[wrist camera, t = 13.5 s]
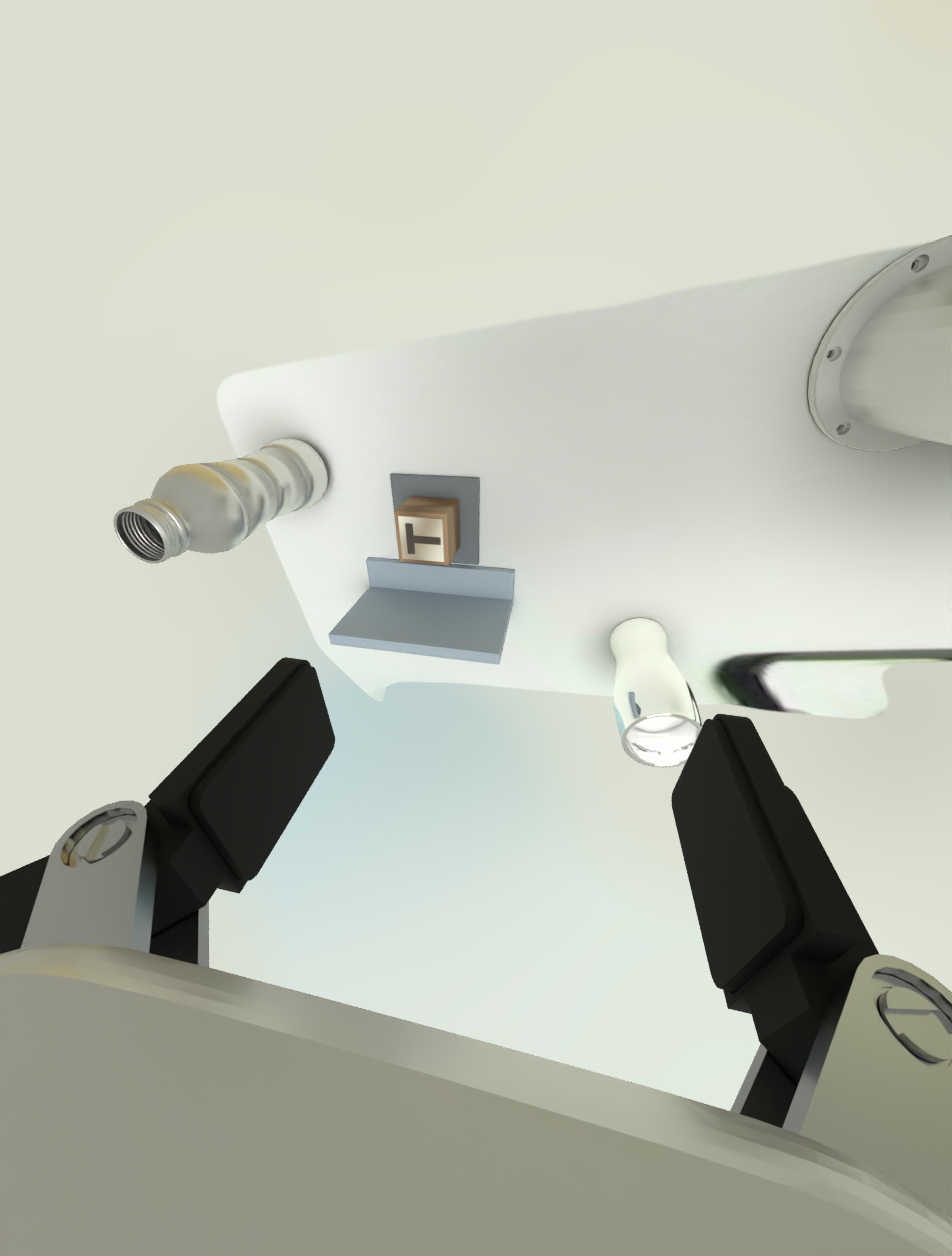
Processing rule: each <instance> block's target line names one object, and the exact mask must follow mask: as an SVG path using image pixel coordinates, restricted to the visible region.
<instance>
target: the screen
mask: <svg viewBox="0 0 952 1256" xmlns="http://www.w3.org/2000/svg"><path fill="white" fill-rule="evenodd" d="M366 563H367V569H368V575H369V581H370V588H369V589H368V590H367V591H366V592H365V593H364V594H363V595H362V597H361V598H360V599H359V600H358V601H357V602H356V603H355V605H354V606H353V607H352V608H351V609H350V610H349V611H348V613H347V614H346V615H345V616H344V617H343V618H342V619H341V621H340V622H339V623H338V624H337V625H336V626H335V627H334V629H333V630H332V631H331V632H330V633H329V638H330V642H331V644H335V645H343V646H351V647H359V648H367V649H376V650H384V651H392V652H400V653H409V654H417V655H425V656H433V657H441V658H450V659H458V660H466V661H474V662H483V663H491V664H499V663H500V658H501V654H502V650H503V645H504V641H505V637H506V632H507V628H508V623H509V619H510V615H511V610H512V606H513V589H514V573H515V570H513V569H501V568H490V567H478V566H466V565H454V564H449V565H437V564H426V563H415V562H403V561H400V560H394V559H382V558H370V557H369V558H368V559H367V560H366Z"/></svg>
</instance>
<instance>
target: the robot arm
mask: <svg viewBox="0 0 952 1256" xmlns="http://www.w3.org/2000/svg"><path fill="white" fill-rule="evenodd" d="M913 262H914V263H915V264H914V267H913V269H911V266H912V263H913ZM830 350H831V351H832V353H831V355H830V357H828V358H827V354H828V352H829V351H830ZM808 399H809V405H810V411H811V413H812V416H813V418H814V420H815V423H816V424H817V426H818V427H819V428H820V429H821V430H822V432H823V433H824V434H825V435H826V436H828V437H829V438H831V439H832V440H834V441H835V442H837V443H839V444H842V445H845V446H847V447H851V448H855V449H859V450H863V451H886V450H894V449H901V448H904V447H908V446H911V445H915V444H918V443H921V442H924V441H926V440H929V441H934V442H938V443H943V444H947V445H952V235H951V236H948V237H944V238H941V239H938V240H936V241H934V242H931V243H929V244H927V245H924V246H922V247H919V248H917V249H915V250H913V251H912V252H910V253H908V254H906V255H905V256H903V257H901V258H900V259H898V260H896V261H895V262H893V263H891V264H890V265H889V266H888V267H886V268H885V269H884V270H882V271H881V272H880V273H878V274H877V275H876V276H875V277H873V278H872V279H871V280H870V281H869V282H868V283H867V284H866V285H865V286H863V287H862V288H861V289H860V290H859V291H858V292H857V293H856V294H855V295H854V296H853V297H852V298H851V299H850V301H849V302H848V303H847V304H846V306H845V307H844V308H843V309H842V311H841V312H840V313H839V314H838V316H837V317H836V318H835V320H834V321H833V323H832V325H831V326H830V328H829V329H828V331H827V333H826V334H825V336H824V338H823V339H822V342H821V344H820V346H819V349H818V351H817V353H816V355H815V358H814V361H813V365H812V369H811V372H810V376H809V387H808ZM839 425H841V427H840V428H839V429H838V430H837V428H838V427H839ZM334 744H335V736H334V733H333V729H332V726H331V722H330V719H329V715H328V711H327V708H326V705H325V701H324V697H323V694H322V690H321V687H320V684H319V680H318V677H317V673H316V670H315V668H314V667H311V665H310V663H309V662H308V661H307V660H301V659H293V658H286V657H285V658H282V659H281V660H280V661H278V662H277V663H276V664H275V665H274V666H273V668H272V669H271V670H270V671H269V672H268V673H267V674H266V675H265V676H264V677H263V678H262V679H261V680H260V681H259V682H258V683H257V684H256V685H255V686H254V687H253V688H252V689H251V690H250V691H249V692H248V694H246V695H245V696H244V698H243V699H242V700H241V701H240V702H239V703H238V704H237V705H236V706H235V707H234V708H233V709H232V710H231V711H230V712H229V713H228V714H227V715H226V716H225V717H224V718H223V719H222V720H221V722H219V723H218V725H217V726H216V727H215V728H214V729H213V730H212V731H211V732H210V733H209V734H208V735H207V736H206V737H205V738H204V739H203V740H202V741H201V742H200V743H199V744H198V745H197V746H196V747H195V748H194V749H193V751H191V752H190V754H189V755H188V756H187V757H186V758H185V759H184V760H183V761H182V762H181V763H180V764H179V765H178V766H177V767H176V768H175V769H174V770H173V771H172V772H171V773H170V775H168V776H167V777H166V778H165V779H164V780H163V782H161V783H160V785H159V786H158V787H157V788H156V789H155V790H154V791H153V792H152V793H151V794H150V795H149V798H150V799H151V800H150V801H149V802H148V803H147V804H146V805H145V806H143V805H142V804H141V803H138V802H135V801H119V802H115V803H112V804H108V805H105V806H103V807H101V808H99V809H97V810H94V811H93V812H91V813H89V814H88V815H86V816H85V817H83V818H81V819H80V820H79V821H77V822H76V823H75V824H74V825H73V826H71V827H70V828H69V829H68V830H67V831H66V832H65V833H64V834H63V836H62V837H61V838H60V839H59V840H58V842H57V843H56V844H55V846H54V848H53V850H52V852H51V854H50V855H49V856H46V857H44V858H42V859H39V860H37V861H35V862H32V863H30V864H28V865H26V866H23V867H21V868H19V869H17V870H14V871H12V872H10V873H7V874H5V875H3V876H0V1256H952V992H951V991H949V990H948V989H947V988H946V987H945V986H944V985H942V984H941V983H940V982H939V981H938V980H936V979H935V978H934V977H933V976H931V975H929V974H928V973H926V972H924V971H923V970H921V969H920V968H918V967H917V966H915V965H913V964H912V963H909V962H906V961H904V960H901V959H899V958H896V957H894V956H888V955H880V954H879V953H878V951H877V949H876V947H875V945H874V943H873V941H872V939H871V937H870V936H869V934H868V932H867V930H866V928H865V926H864V924H863V922H862V920H861V918H860V916H859V914H858V913H857V911H856V909H855V907H854V905H853V903H852V901H851V899H850V897H849V896H848V894H847V892H846V890H845V888H844V886H843V884H842V882H841V880H840V878H839V876H838V874H837V873H836V871H835V869H834V867H833V865H832V863H831V861H830V860H829V857H828V855H827V854H826V852H825V850H824V848H823V846H822V844H821V842H820V840H819V838H818V836H817V834H816V833H815V831H814V829H813V827H812V825H811V823H810V821H809V819H808V817H807V815H806V814H805V812H804V810H803V808H802V806H801V804H800V802H799V800H798V798H797V797H796V796H795V794H794V793H793V791H792V790H790V789H789V788H788V787H787V786H785V785H784V783H783V781H782V780H781V777H780V775H779V773H778V772H777V769H776V768H775V766H774V764H773V762H772V760H771V758H770V756H769V754H768V752H767V750H766V748H765V746H764V744H763V742H762V740H761V738H760V736H759V734H758V732H757V730H756V729H755V726H754V724H753V723H752V721H751V720H750V719H749V718H747V717H740V716H733V715H725V714H717V715H716V716H715V717H714V718H713V720H711V719H707V720H706V721H705V722H704V724H703V726H702V729H701V731H700V733H699V735H698V737H697V740H696V742H695V744H694V746H693V748H692V751H691V753H690V755H689V757H688V759H687V761H686V764H685V766H684V768H683V770H682V773H681V775H680V777H679V779H678V781H677V783H676V786H675V788H674V790H673V793H672V809H673V813H674V817H675V822H676V826H677V830H678V835H679V839H680V843H681V848H682V852H683V856H684V861H685V865H686V869H687V873H688V878H689V882H690V886H691V890H692V895H693V899H694V903H695V908H696V912H697V916H698V921H699V925H700V929H701V933H702V938H703V942H704V946H705V951H706V955H707V959H708V963H709V968H710V972H711V975H712V978H713V981H714V983H715V985H716V986H717V987H718V988H720V989H723V990H724V994H725V998H726V1002H727V1007H728V1009H733V1010H737V1011H742V1012H745V1013H749V1014H752V1017H753V1021H754V1024H755V1028H756V1031H757V1034H758V1038H759V1041H760V1043H761V1045H760V1046H759V1049H758V1051H757V1053H756V1056H755V1058H754V1060H753V1062H752V1064H751V1066H750V1069H749V1071H748V1073H747V1075H746V1078H745V1080H744V1082H743V1084H742V1087H741V1089H740V1091H739V1093H738V1095H737V1097H736V1100H735V1102H734V1104H733V1106H732V1109H731V1111H727V1110H724V1109H720V1108H717V1107H714V1106H710V1105H707V1104H704V1103H700V1102H697V1101H693V1100H690V1099H687V1098H683V1097H680V1096H676V1095H673V1094H670V1093H666V1092H663V1091H660V1090H656V1089H653V1088H650V1087H646V1086H643V1085H639V1084H636V1083H632V1082H628V1081H625V1080H621V1079H617V1078H614V1077H610V1076H607V1075H603V1074H599V1073H596V1072H592V1071H588V1070H585V1069H581V1068H577V1067H574V1066H570V1065H567V1064H563V1063H559V1062H556V1061H552V1060H549V1059H545V1058H541V1057H538V1056H534V1055H531V1054H527V1053H523V1052H520V1051H516V1050H512V1049H509V1048H505V1047H502V1046H498V1045H494V1044H491V1043H487V1042H483V1041H480V1040H476V1039H472V1038H469V1037H465V1036H461V1035H457V1034H453V1033H450V1032H446V1031H443V1030H439V1029H436V1028H432V1027H428V1026H424V1025H421V1024H417V1023H413V1022H410V1021H406V1020H402V1019H399V1018H395V1017H391V1016H388V1015H383V1014H380V1013H376V1012H373V1011H369V1010H365V1009H362V1008H358V1007H354V1006H351V1005H347V1004H343V1003H340V1002H336V1001H332V1000H328V999H324V998H321V997H317V996H313V995H310V994H306V993H302V992H298V991H294V990H291V989H287V988H283V987H279V986H275V985H272V984H268V983H264V982H261V981H257V980H253V979H249V978H246V977H242V976H238V975H234V974H230V973H227V972H223V971H219V970H216V969H212V968H209V899H210V898H211V896H212V895H213V893H214V892H215V890H216V889H217V888H218V889H223V890H227V891H231V892H235V893H240V892H241V890H242V889H243V887H244V885H245V884H246V882H247V881H248V880H252V879H253V878H254V877H255V876H256V875H257V874H258V872H259V871H260V869H261V868H262V866H263V864H264V863H265V861H266V859H267V858H268V856H269V854H270V853H271V851H272V850H273V848H274V846H275V844H276V843H277V841H278V840H279V838H280V836H281V835H282V833H283V831H284V830H285V828H286V826H287V825H288V823H289V821H290V820H291V818H292V816H293V815H294V813H295V812H296V810H297V808H298V807H299V805H300V803H301V802H302V800H303V798H304V797H305V795H306V793H307V791H308V790H309V788H310V787H311V785H312V783H313V782H314V780H315V778H316V777H317V775H318V774H319V771H320V770H321V768H322V767H323V765H324V764H325V762H326V760H327V759H328V757H329V755H330V754H331V752H332V750H333V748H334Z"/></svg>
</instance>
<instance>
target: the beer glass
mask: <svg viewBox="0 0 952 1256" xmlns="http://www.w3.org/2000/svg"><path fill="white" fill-rule="evenodd" d="M610 647H611V650H612V653H613V655H614V657H615V659H616V662H617V667H616V675H615V683H614V709H615V714H616V720H617V725H618V729H619V733H620V736H621V740H622V746H623V749H624V751H625V752H626V753H627V754H628V755H629V756H630V757H631V758H632V759H634V760H635V761H637V762H639V763H642V764H644V765H648V766H653V767H673V766H678V765H681V764H685V763H686V761H687V759H688V757H689V755H690V753H691V751H692V748H693V746H694V744H695V742H696V740H697V737H698V735H699V733H700V731H701V729H702V726H703V725H702V721H701V717H700V713H699V709H698V706H697V703H696V700H695V697H694V695H693V692H692V690H691V688H690V686H689V684H688V682H687V681H686V679H685V677H684V675H683V674H682V673H681V671H680V670H679V668H678V667H677V665H676V664H675V663H674V661H673V660H672V658H671V657H670V655H669V653H668V650H667V636H666V633H665V631H664V629H663V628H662V626H661V625H660V624H658V623H657V622H655V621H653V620H650V619H646V618H634V619H630V620H627V621H625V622H623V623H621V624H619V625H618V626H617V627H616V628H615V629H614V630H613V632H612V634H611V637H610Z"/></svg>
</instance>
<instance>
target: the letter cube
mask: <svg viewBox="0 0 952 1256" xmlns="http://www.w3.org/2000/svg"><path fill="white" fill-rule="evenodd" d="M394 514H395V523H396V533H397V542H398V551H399V560H400V561H403V562H415V563H426V564H437V565H449V564H450V562H451V561H452V559H453V557H454V556H455V554H456V552H457V550H458V549H459V547H460V514H459V499H452V498H436V497H419V496H411V497H410V498H409V499H407V500H406V501H405V502H404V503H403V504H402V505H401V506H399V507H398V508H397V509H396V510H395V511H394Z"/></svg>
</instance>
